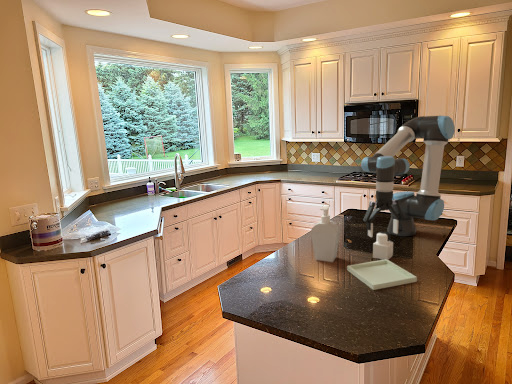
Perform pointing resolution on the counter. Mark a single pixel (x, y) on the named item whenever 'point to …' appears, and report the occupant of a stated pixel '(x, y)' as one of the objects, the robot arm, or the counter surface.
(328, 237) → the soap bottle
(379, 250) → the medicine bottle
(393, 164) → the robot arm
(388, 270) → the tray
